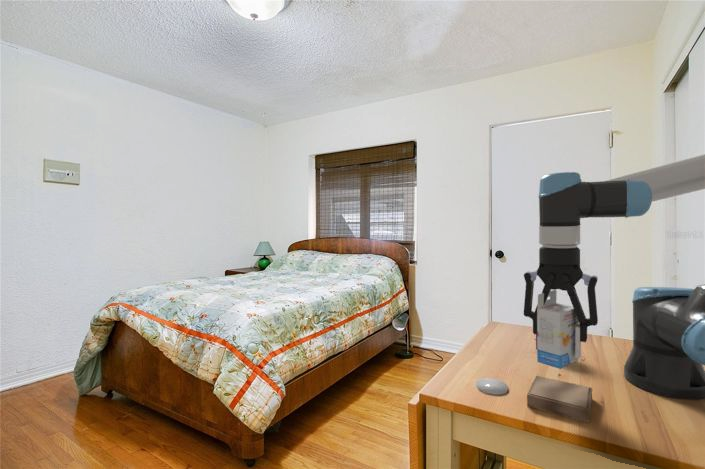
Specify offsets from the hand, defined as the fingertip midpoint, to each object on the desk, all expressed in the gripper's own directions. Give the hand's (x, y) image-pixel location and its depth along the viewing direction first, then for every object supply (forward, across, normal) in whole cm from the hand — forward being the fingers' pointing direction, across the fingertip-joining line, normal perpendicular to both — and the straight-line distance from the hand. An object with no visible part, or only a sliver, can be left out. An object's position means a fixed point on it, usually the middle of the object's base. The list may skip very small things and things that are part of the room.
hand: (559, 352), depth 75 cm
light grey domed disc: (+12, +14, +1) cm, 18 cm away
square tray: (+11, 0, 0) cm, 11 cm away
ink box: (+2, 0, 0) cm, 2 cm away
